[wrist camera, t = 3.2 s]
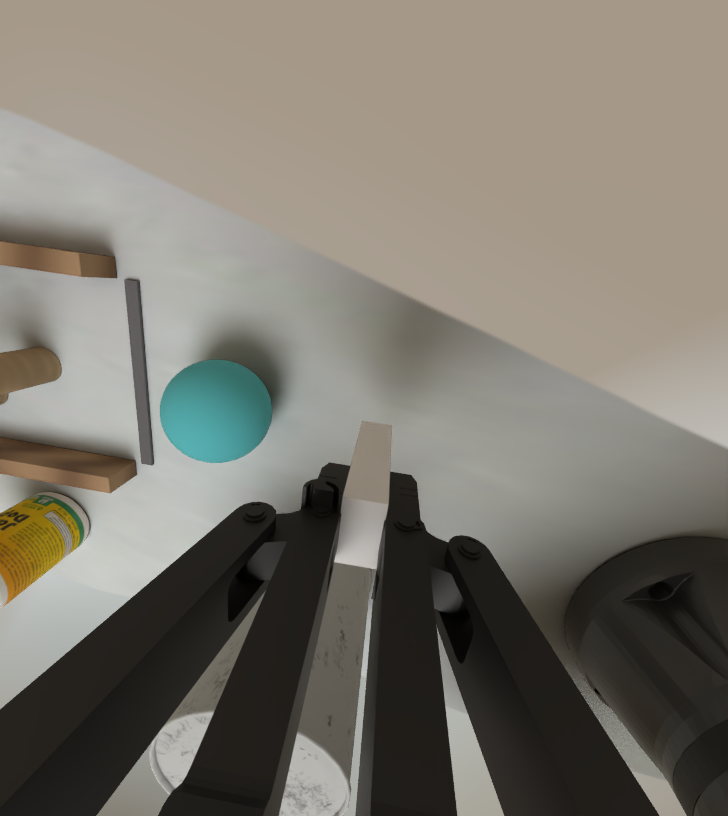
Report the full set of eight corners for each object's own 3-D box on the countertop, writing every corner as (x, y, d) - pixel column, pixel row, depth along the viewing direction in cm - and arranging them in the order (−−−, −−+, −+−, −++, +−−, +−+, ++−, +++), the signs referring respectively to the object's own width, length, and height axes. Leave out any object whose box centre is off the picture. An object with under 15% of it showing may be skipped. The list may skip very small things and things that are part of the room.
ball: (287, 359, 22) (248, 383, 16) (282, 443, 24) (246, 491, 18) (196, 345, 22) (127, 363, 16) (199, 430, 24) (138, 472, 19)
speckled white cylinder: (290, 630, 30) (220, 847, 18) (231, 545, 27) (107, 733, 16) (391, 601, 28) (385, 827, 16) (337, 507, 25) (284, 692, 14)
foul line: (139, 281, 21) (136, 281, 21) (153, 464, 25) (151, 465, 25) (126, 279, 21) (124, 279, 21) (143, 462, 26) (141, 463, 25)
